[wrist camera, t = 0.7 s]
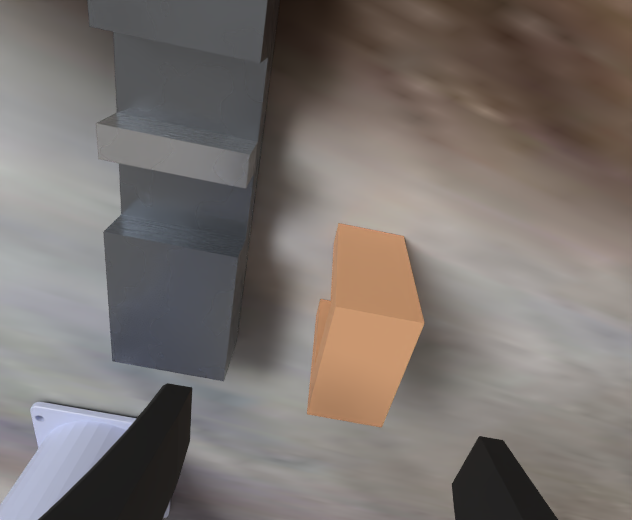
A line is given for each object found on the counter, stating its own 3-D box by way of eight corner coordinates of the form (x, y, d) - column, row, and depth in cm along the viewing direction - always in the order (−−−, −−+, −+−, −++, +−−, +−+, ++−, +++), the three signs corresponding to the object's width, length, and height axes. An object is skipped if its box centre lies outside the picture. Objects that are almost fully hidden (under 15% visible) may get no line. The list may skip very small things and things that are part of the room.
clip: (373, 326, 21) (381, 427, 16) (316, 315, 21) (306, 414, 16) (403, 236, 19) (424, 323, 14) (338, 223, 18) (335, 306, 13)
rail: (236, 341, 22) (223, 381, 20) (137, 322, 22) (112, 361, 20) (306, -212, 12) (297, -262, 10) (121, -257, 12) (65, -320, 9)
